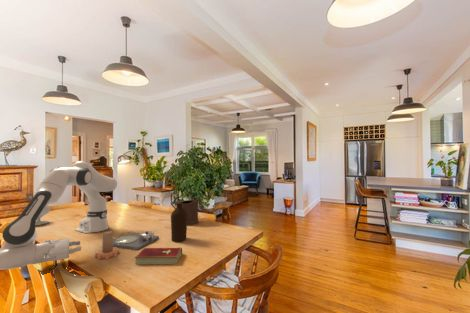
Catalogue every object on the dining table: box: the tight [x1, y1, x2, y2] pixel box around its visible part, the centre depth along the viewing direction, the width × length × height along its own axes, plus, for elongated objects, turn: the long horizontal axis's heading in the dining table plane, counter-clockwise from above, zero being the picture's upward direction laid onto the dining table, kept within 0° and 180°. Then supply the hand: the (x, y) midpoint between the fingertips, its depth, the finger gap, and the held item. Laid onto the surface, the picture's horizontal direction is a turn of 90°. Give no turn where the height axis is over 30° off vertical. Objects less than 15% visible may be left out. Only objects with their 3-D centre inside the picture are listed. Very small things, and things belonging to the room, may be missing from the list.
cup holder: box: [170, 192, 200, 227], centre depth 181 cm, size 18×24×25 cm
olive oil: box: [170, 200, 188, 243], centre depth 141 cm, size 11×11×25 cm
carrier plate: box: [113, 231, 160, 251], centre depth 137 cm, size 24×20×6 cm
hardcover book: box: [134, 247, 183, 265], centre depth 113 cm, size 12×21×4 cm, turn 92°
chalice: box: [35, 204, 51, 226], centre depth 175 cm, size 14×14×15 cm
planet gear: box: [94, 230, 120, 260], centre depth 118 cm, size 11×11×12 cm
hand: (80, 245), depth 110 cm, fingers open, 8 cm apart
